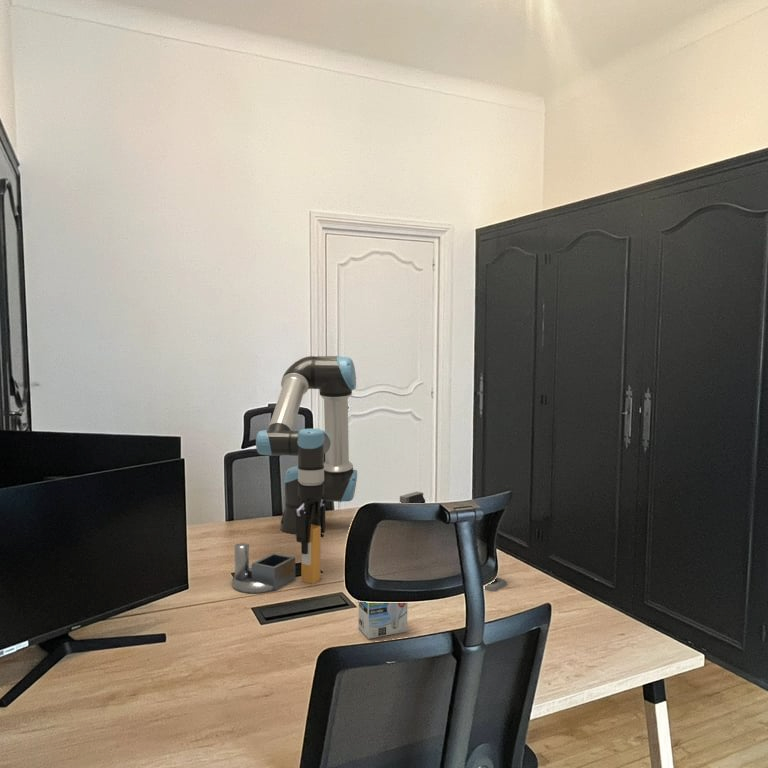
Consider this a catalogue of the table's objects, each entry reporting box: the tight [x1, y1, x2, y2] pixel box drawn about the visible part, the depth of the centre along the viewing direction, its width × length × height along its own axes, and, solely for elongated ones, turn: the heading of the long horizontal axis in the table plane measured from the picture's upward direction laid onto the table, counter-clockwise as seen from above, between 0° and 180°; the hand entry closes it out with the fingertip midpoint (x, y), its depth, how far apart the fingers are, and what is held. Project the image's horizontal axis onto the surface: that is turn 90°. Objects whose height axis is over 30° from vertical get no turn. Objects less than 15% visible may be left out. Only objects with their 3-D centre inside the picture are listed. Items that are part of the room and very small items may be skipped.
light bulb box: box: [357, 601, 409, 640], centre depth 154 cm, size 11×7×11 cm, turn 115°
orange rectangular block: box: [300, 524, 322, 585], centre depth 185 cm, size 4×4×16 cm
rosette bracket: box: [231, 542, 296, 595], centre depth 183 cm, size 15×15×11 cm
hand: (311, 561), depth 185 cm, fingers closed on orange rectangular block, 4 cm apart
